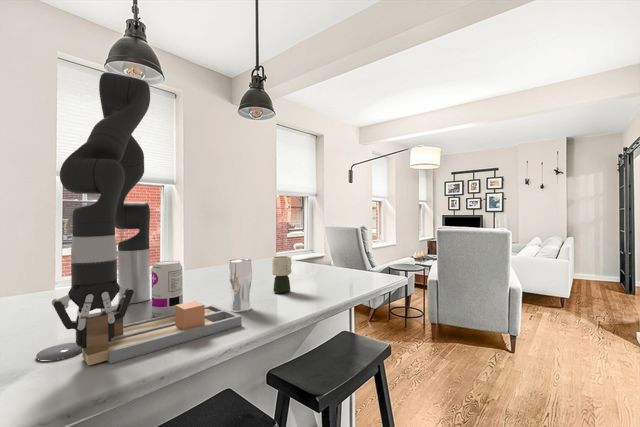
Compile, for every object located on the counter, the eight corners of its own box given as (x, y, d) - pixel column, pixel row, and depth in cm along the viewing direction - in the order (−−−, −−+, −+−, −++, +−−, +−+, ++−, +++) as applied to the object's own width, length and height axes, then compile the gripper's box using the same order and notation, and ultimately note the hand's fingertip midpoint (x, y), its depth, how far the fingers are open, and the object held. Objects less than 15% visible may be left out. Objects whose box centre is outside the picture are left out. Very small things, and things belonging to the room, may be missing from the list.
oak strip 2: (82, 356, 66) (81, 314, 66) (204, 324, 85) (204, 291, 84) (88, 365, 62) (88, 320, 62) (214, 329, 81) (214, 294, 81)
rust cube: (175, 325, 79) (175, 305, 79) (195, 320, 83) (195, 301, 83) (184, 330, 75) (184, 309, 75) (204, 325, 79) (204, 304, 79)
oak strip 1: (100, 340, 74) (99, 307, 74) (207, 314, 93) (207, 287, 93) (106, 347, 70) (106, 312, 70) (217, 318, 89) (217, 290, 89)
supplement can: (151, 320, 90) (151, 265, 89) (151, 312, 97) (151, 261, 97) (183, 315, 93) (183, 263, 93) (181, 308, 101) (181, 259, 101)
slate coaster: (34, 353, 69) (34, 350, 69) (80, 342, 74) (80, 339, 74) (38, 365, 63) (38, 362, 63) (88, 352, 69) (88, 349, 69)
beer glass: (246, 313, 95) (246, 262, 95) (224, 312, 96) (224, 261, 96) (255, 306, 102) (255, 258, 102) (235, 305, 103) (234, 258, 103)
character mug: (298, 293, 118) (298, 257, 118) (281, 297, 113) (281, 259, 113) (282, 288, 126) (282, 254, 126) (266, 291, 122) (265, 256, 122)
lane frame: (91, 342, 74) (91, 332, 74) (212, 313, 95) (212, 304, 95) (110, 364, 63) (109, 351, 63) (241, 325, 85) (241, 316, 85)
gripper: (128, 253, 73) (129, 330, 73) (46, 260, 62) (47, 349, 63) (139, 256, 68) (140, 339, 68) (52, 264, 57) (53, 362, 57)
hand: (95, 343), depth 65 cm, fingers closed on oak strip 2, 3 cm apart
